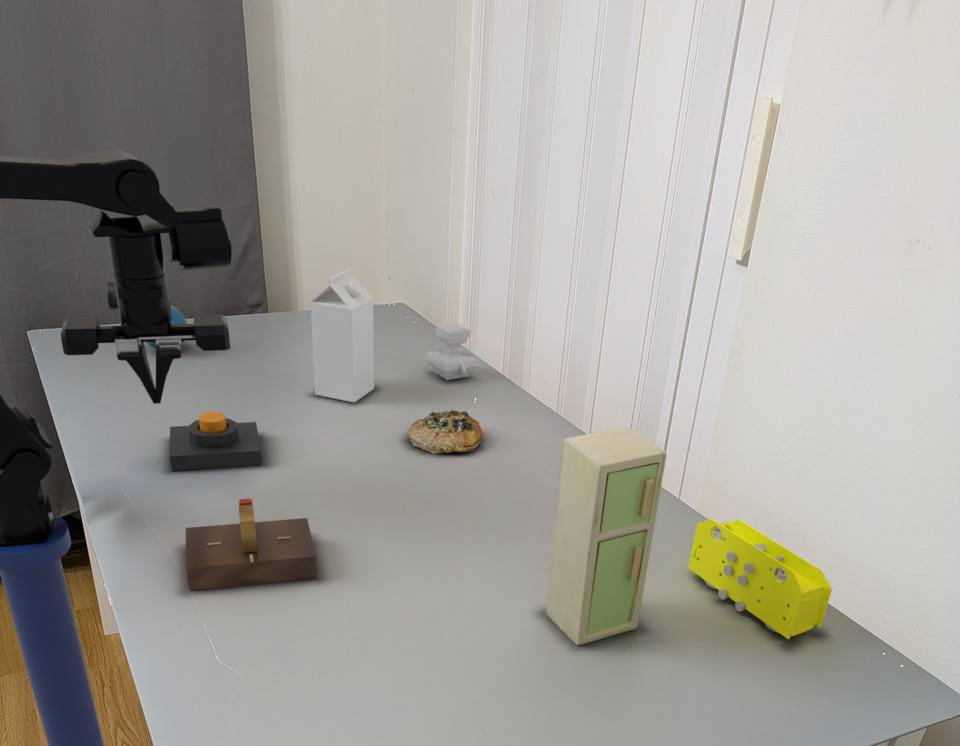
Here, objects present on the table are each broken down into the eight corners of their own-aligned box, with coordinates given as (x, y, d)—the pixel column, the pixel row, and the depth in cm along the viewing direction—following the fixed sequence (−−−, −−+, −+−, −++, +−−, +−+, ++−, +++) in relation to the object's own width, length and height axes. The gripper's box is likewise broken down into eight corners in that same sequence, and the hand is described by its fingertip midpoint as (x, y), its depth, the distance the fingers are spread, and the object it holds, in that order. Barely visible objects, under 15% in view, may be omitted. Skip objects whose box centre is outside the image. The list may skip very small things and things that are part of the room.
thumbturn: (257, 551, 106) (254, 518, 104) (243, 552, 106) (239, 519, 103) (255, 530, 110) (252, 497, 108) (241, 531, 110) (237, 498, 107)
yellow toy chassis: (683, 575, 112) (696, 512, 107) (719, 563, 114) (733, 502, 110) (783, 646, 101) (802, 580, 96) (820, 632, 103) (840, 567, 99)
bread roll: (464, 419, 147) (466, 390, 143) (494, 457, 139) (497, 428, 136) (397, 431, 143) (397, 402, 139) (425, 471, 135) (426, 441, 132)
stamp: (421, 370, 164) (422, 322, 159) (454, 365, 167) (456, 317, 163) (447, 388, 158) (449, 338, 153) (481, 381, 161) (483, 332, 156)
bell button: (200, 434, 129) (198, 422, 128) (199, 424, 132) (198, 412, 131) (227, 433, 130) (226, 421, 129) (226, 422, 133) (224, 411, 132)
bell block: (171, 471, 128) (167, 443, 126) (172, 440, 136) (168, 414, 134) (262, 465, 131) (259, 438, 129) (257, 435, 139) (255, 410, 136)
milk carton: (314, 395, 152) (308, 275, 142) (336, 381, 158) (332, 264, 147) (354, 403, 150) (350, 282, 140) (374, 389, 156) (373, 271, 145)
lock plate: (189, 591, 104) (185, 567, 102) (188, 549, 111) (185, 526, 110) (317, 579, 107) (315, 555, 106) (308, 539, 115) (307, 516, 113)
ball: (144, 343, 169) (137, 298, 164) (190, 341, 171) (185, 297, 166) (142, 358, 163) (134, 312, 158) (190, 357, 164) (184, 310, 160)
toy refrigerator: (579, 651, 98) (603, 467, 87) (543, 614, 104) (562, 436, 92) (642, 633, 102) (673, 453, 90) (604, 598, 107) (629, 424, 95)
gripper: (219, 255, 118) (230, 376, 126) (58, 256, 113) (80, 382, 121) (224, 279, 109) (235, 408, 117) (49, 282, 104) (74, 415, 113)
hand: (157, 402), depth 117 cm, fingers closed
